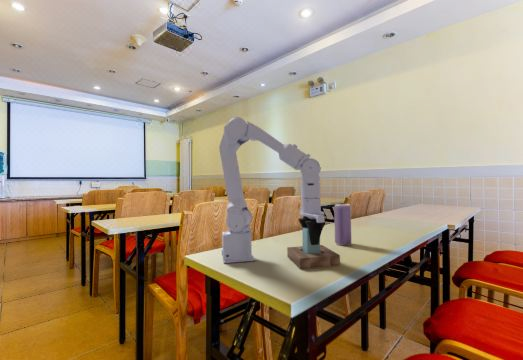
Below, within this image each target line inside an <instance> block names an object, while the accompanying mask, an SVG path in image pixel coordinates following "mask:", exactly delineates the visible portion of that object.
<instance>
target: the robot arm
mask: <svg viewBox="0 0 523 360" xmlns="http://www.w3.org/2000/svg"><path fill="white" fill-rule="evenodd" d="M249 140H250V141H253V142H255V141H258V142H260V143H262V144H263V145H265V146H267V147H268V148H270V149H272V151H274V152H276V153H278V157H279V158H278V159H279V160H281V161H282V162H283V163H285V164H286V165H288V166H289V167H291V168H292V169H294V170H295V171H300V173H301V184H300V188H301V190H300V192H301V193H300V195H301V198H300V199H301V209H300V210H299V215H300V218H298V222H299V223H300V226H301V229H302V228H308V231H309V236H310V242H311V245H318V244H319V240H320V241H321V234H322V232H323V229H324V227H325V226H326V221H325V211H322V209H321V206H322V205H321V202H322V201H321V183H320V181H321V179H320V178H321V177H320V173H321V170H322V167H321V164H320V163H319V161H318V160H317V159H315V158H313V157H311V154H309V153H307V154H306V153H305V152H304V151H302V150H300V149H299V148H298V145H297V144H291V143H287V144H283V143H282V142H280V141H279V140H278V139H276V138H275V137H274V136H272V135H271V134H269V133H268V132H267V131H265V130H263V129H262V128H261V127H259V126H258V125H255V124H253V122H252V123H251V122H250V121H246V120H245V119H243V118H242V117H240V116H235V117H232V118H231V119H230V120H228V121H227V123H226V124H225V125H224V126H223V134H222V137H221V139H220V142H219V147H218V148H219V155H220V156H219V157H220V160H221V161H220V162H221V165H222V172H223V178H224V184H225V188H226V194H227V195H226V196H227V199H228V200H227V201H228V204H227V207H226V212H227V216H226V220H225V223H226V224H225V225H226V226H227V228H228V230H227V231H222V235H221V236H222V237H221V238H222V244H221V246H222V249H221V256H222V260H223V263H224V264H230V263H232V264H233V263H241V262H242V263H243V262H253V261H254V262H255V257H254V255H253V254H252V252H253V251H252V250H253V249H252V246H253V245H252V227H251V226H250V224H251V223H252V220H253V215H252V212H251V210H250V209H249V207H248V204H247V201H246V200H245V195H244V191H243V190H244V189H243V184H242V179H241V174H240V168H239V162H238V156H237V151H238V150H239V149H240V147H241V146H243V145H244V144H245V143H247V142H248V141H249Z"/></svg>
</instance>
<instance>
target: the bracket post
mask: <svg viewBox="0 0 523 360" xmlns="http://www.w3.org/2000/svg"><path fill="white" fill-rule="evenodd" d="M301 229H302V246H303V252H304V253H305V254H306V255H307V254H319V253H320V245H321V239H320V240H319V244H318V245H311V242H310V236H309V231H308V228H302V227H301Z"/></svg>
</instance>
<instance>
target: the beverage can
mask: <svg viewBox="0 0 523 360" xmlns="http://www.w3.org/2000/svg"><path fill="white" fill-rule="evenodd" d="M333 210H334V212H333V213H334V215H333V216H334V243H335V244H336V245H337V246H345V247H347V246H350V245H352V207H351V204H349V203H335V204H334V207H333Z"/></svg>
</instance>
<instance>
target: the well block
mask: <svg viewBox="0 0 523 360" xmlns="http://www.w3.org/2000/svg"><path fill="white" fill-rule="evenodd" d="M286 252H287V255H286V257H287V258H288V259H289V260H290V261H291V262H292V263H293V264H294V265H295V266H296V267H297V268H298V269H299V270H305V269H306V270H307V269H317V268H319V269H320V268H327V267H339V266H341V256H340V254H339V253H337V252H335V251H334V250H332V249H330V248H328V247H327V246H325V245H323V244H320V253H319V254H307V255H306V254H305V253H304V252H303V245H301V246H300V245H299V246H288V247H287V248H286Z"/></svg>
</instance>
